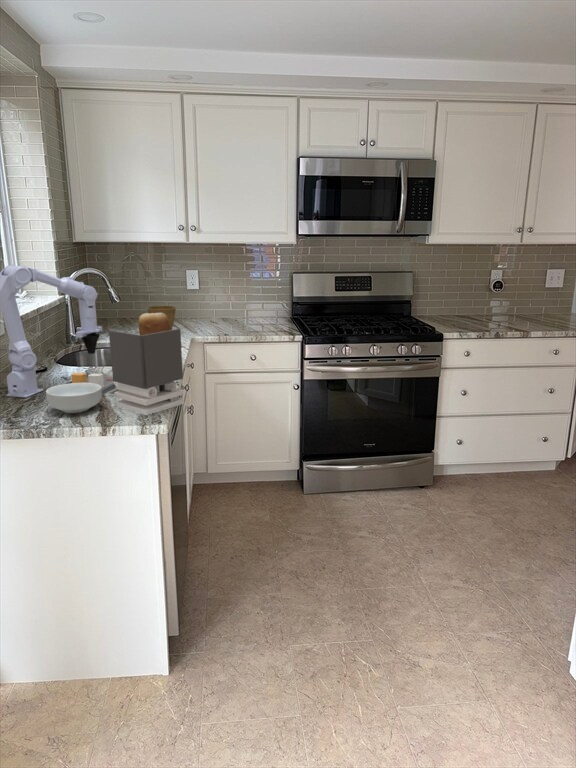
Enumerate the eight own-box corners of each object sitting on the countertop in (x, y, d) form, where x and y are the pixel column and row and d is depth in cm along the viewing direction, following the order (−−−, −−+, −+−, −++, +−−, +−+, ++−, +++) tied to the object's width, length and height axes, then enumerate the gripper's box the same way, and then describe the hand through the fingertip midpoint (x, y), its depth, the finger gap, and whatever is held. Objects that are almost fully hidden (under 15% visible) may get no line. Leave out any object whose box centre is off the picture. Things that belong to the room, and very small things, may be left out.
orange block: (82, 387, 200) (81, 375, 199) (72, 387, 201) (71, 374, 199) (87, 385, 203) (86, 373, 201) (77, 384, 203) (76, 372, 202)
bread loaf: (156, 369, 233) (152, 309, 227) (182, 373, 227) (179, 311, 221) (133, 377, 221) (128, 313, 215) (160, 381, 215) (156, 315, 209)
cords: (112, 393, 199) (112, 390, 198) (56, 389, 204) (56, 386, 203) (138, 380, 217) (138, 377, 216) (86, 377, 222) (86, 374, 221)
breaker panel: (97, 397, 195) (95, 379, 193) (56, 394, 198) (54, 376, 197) (127, 381, 214) (126, 365, 213) (89, 379, 218) (87, 363, 216)
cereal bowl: (110, 411, 179) (108, 390, 177) (55, 421, 170) (53, 398, 168) (94, 399, 193) (92, 379, 191) (42, 407, 183) (40, 386, 182)
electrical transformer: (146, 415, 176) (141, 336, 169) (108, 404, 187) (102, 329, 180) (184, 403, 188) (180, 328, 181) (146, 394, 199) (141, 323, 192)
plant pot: (151, 340, 297) (149, 309, 293) (147, 335, 310) (145, 306, 306) (179, 338, 302) (178, 308, 298) (174, 333, 315) (172, 304, 311)
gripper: (87, 320, 204) (90, 357, 207) (108, 315, 217) (111, 349, 221) (69, 320, 205) (73, 356, 209) (91, 314, 219) (94, 349, 222)
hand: (91, 353), depth 215 cm, fingers closed
